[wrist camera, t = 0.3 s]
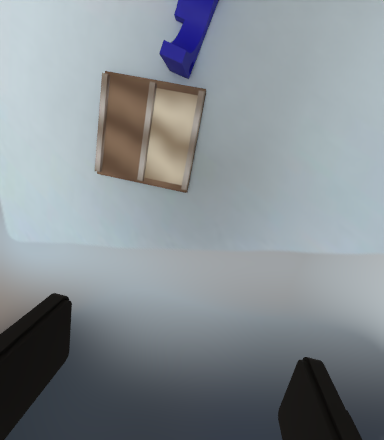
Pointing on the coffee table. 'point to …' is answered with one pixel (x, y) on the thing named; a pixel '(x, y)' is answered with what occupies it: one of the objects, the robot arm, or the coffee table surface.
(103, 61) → the coffee table surface
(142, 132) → the organizer board
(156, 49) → the coffee table surface
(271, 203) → the coffee table surface
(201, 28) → the cable clip
